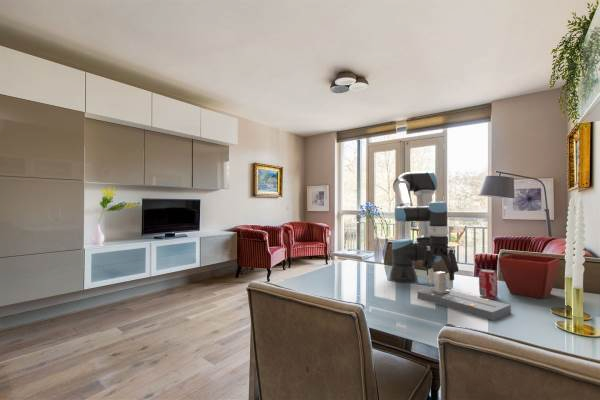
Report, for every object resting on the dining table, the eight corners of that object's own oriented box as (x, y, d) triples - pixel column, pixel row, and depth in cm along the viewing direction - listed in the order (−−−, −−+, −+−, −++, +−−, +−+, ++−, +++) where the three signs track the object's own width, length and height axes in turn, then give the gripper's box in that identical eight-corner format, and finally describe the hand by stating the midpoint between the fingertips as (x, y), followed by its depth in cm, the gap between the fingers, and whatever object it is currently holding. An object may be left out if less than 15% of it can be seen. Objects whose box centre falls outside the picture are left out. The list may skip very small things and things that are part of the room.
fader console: (436, 292, 140) (435, 286, 140) (510, 312, 113) (510, 304, 113) (417, 297, 133) (417, 290, 133) (492, 320, 105) (492, 311, 106)
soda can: (499, 296, 133) (498, 270, 133) (496, 300, 128) (495, 273, 128) (481, 293, 138) (480, 268, 138) (477, 297, 133) (477, 270, 133)
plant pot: (513, 285, 150) (511, 253, 150) (561, 294, 135) (559, 257, 135) (498, 292, 139) (497, 257, 139) (549, 302, 123) (548, 263, 124)
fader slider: (439, 289, 134) (438, 270, 135) (449, 292, 130) (449, 272, 130) (431, 292, 131) (430, 272, 131) (441, 294, 127) (441, 274, 127)
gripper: (413, 234, 139) (414, 281, 138) (456, 237, 120) (458, 292, 120) (423, 233, 142) (424, 279, 142) (466, 236, 124) (468, 289, 123)
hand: (440, 284), depth 131 cm, fingers open, 9 cm apart
